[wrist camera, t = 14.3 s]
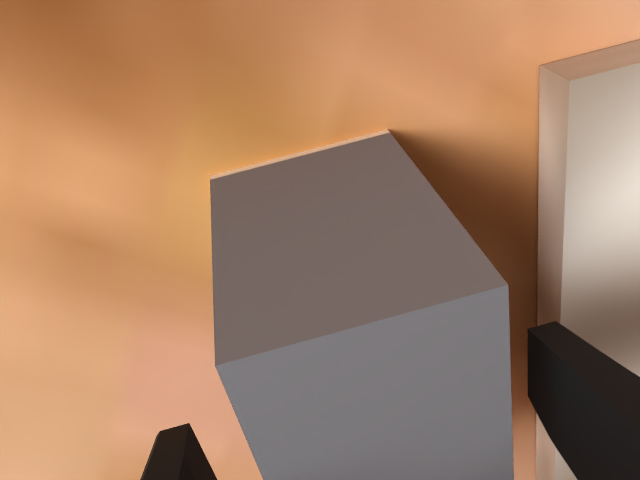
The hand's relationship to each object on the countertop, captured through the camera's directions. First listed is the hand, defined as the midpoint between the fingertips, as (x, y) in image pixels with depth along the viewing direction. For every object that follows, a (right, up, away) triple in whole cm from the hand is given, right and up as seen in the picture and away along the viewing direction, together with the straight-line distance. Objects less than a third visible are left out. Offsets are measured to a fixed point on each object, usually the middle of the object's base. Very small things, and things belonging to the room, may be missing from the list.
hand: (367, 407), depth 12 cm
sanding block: (-1, +2, +3) cm, 4 cm away
